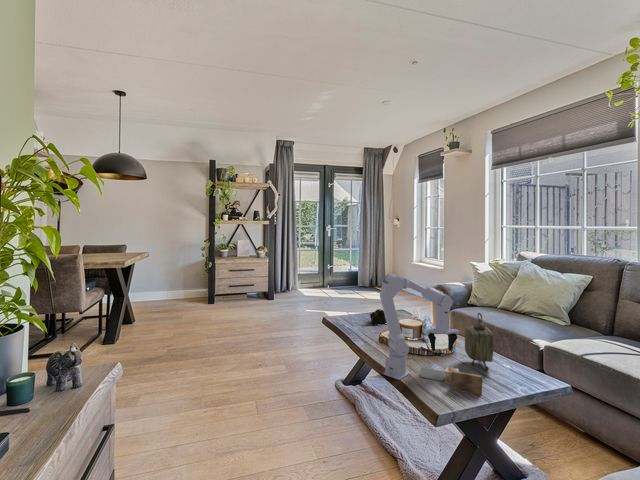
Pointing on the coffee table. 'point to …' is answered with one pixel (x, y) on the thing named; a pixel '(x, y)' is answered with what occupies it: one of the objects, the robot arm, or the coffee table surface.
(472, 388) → the walnut screen
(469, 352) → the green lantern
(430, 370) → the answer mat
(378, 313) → the film camera
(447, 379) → the letter block
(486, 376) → the coffee table surface
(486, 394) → the coffee table surface
